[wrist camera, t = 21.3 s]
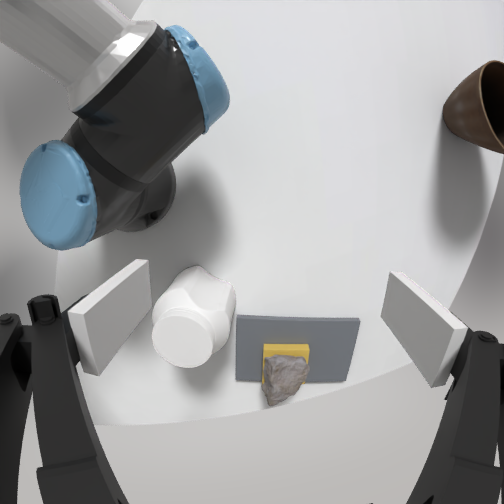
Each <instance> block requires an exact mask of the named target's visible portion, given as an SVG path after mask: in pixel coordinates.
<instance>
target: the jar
mask: <svg viewBox="0 0 504 504" xmlns="http://www.w3.org/2000/svg"><path fill="white" fill-rule="evenodd" d="M235 305H236V294H235V290H234V287H233V285H232V284H231V283H229V282H227V281H223V280H220V279H218V278H216V277H214V276H212V275H211V274H209V273H208V272H207V271H206V270H205V269H204V268H202V267H200V266H193V267H189V268H187V269H185V270H183V271H182V272H181V273H179V274H178V275H177V277H176V278H175V279H174V281H173V282H172V284H171V285H170V286H169V288H168V289H167V290H166V291H165V293H164V294H162V295H161V297H160V298H159V299H158V300H157V302H156V304H155V306H154V308H153V313H152V322H153V327H154V328H153V331H152V342H153V345H154V348H155V349H156V351H157V352H158V354H159V355H160V356H161V357H162V358H163V359H164V360H166V361H167V362H169V363H171V364H173V365H175V366H178V367H183V368H193V367H197V366H200V365H202V364H204V363H205V362H206V361H207V360H208V359H209V358H210V356H211V355H212V354H214V353H216V352H218V351H219V350H220V349H221V348H222V347H223V346H224V345H225V343H226V342H227V340H228V337H229V333H230V327H231V320H232V316H233V312H234V309H235Z"/></svg>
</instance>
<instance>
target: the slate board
mask: <svg viewBox="0 0 504 504" xmlns="http://www.w3.org/2000/svg"><path fill="white" fill-rule="evenodd" d="M359 325H360V320H359V318H301V317H271V316H250V315H237V325H236V380H249V381H262V371H263V347H264V344H308V345H309V350H310V351H309V358H308V365H309V366H310V371H309V372H308V375H307V378H306V380H305V382H327V381H346V378H347V374H348V371H349V367H350V363H351V359H352V355H353V351H354V347H355V343H356V339H357V334H358V330H359Z"/></svg>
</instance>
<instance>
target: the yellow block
mask: <svg viewBox="0 0 504 504" xmlns="http://www.w3.org/2000/svg"><path fill="white" fill-rule="evenodd" d="M309 351H310V350H309V345H308V344H264V347H263V369H264V365H265V361H266V360H264V358H265V357H271V356H273V355H291V356H295V357H297V356H303V357H304V358H305V360H306V363H307V364H308V358H309ZM264 382H265V379H264V373H263V371H262V384H263V383H264ZM302 384H305V382H304V383H302Z"/></svg>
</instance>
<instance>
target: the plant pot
mask: <svg viewBox="0 0 504 504" xmlns="http://www.w3.org/2000/svg"><path fill="white" fill-rule="evenodd" d="M443 117H444V121H445V123H446V125H447V127H448V128H449V130H450V131H451V132H452V133H453V134H455V135H457V136H459V137H460V138H462V139H464V140H466V141H468V142H471V143H473V144H475V145H478V146H480V147H483V148H486V149H488V150H491V151H495V152H498V153H501V154H504V63H503V62H500V61H496V60H493V61H489V62H487V63H486V64H484V65H483V66H481V67H480V68H478V69H477V70H475V71H474V72H473V73H471V74H470V75H469V76H468V77H467V78H465V79H464V80H463V81H462V82H461V83H460V84H459V85H458V86H457V87H456V89H455V90H454V91H453V92H452V93H451V95H450V96H449V98H448V99H447V100H446V102H445V104H444V106H443Z"/></svg>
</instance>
